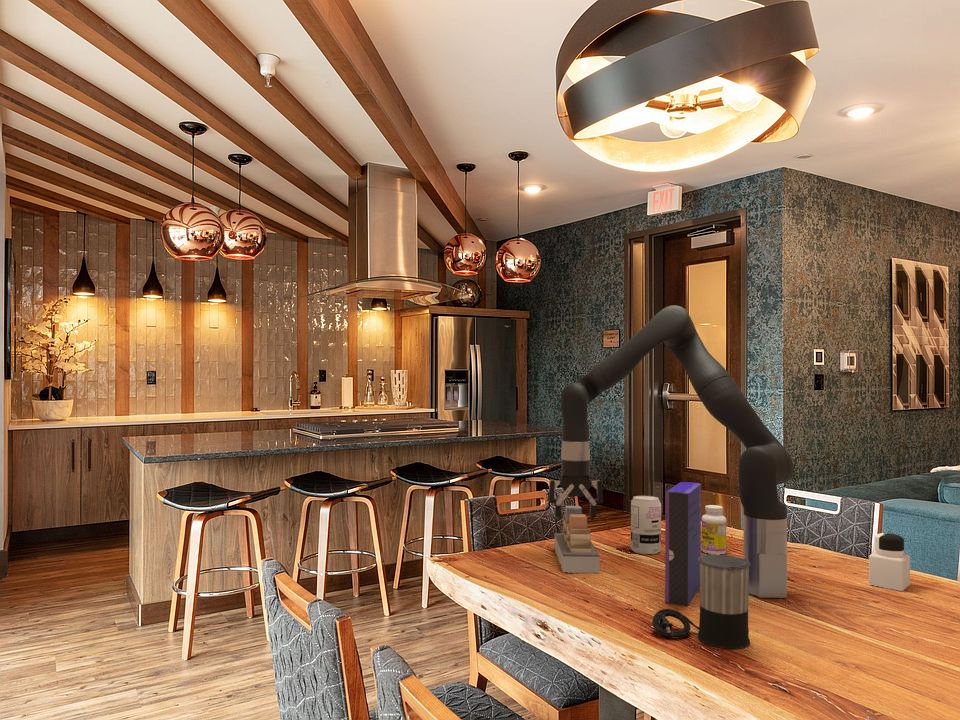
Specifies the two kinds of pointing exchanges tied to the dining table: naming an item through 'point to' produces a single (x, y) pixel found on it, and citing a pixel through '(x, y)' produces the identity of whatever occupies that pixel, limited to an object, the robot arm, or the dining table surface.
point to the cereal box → (682, 542)
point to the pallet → (577, 538)
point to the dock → (575, 557)
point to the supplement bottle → (713, 530)
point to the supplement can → (645, 525)
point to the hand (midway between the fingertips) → (575, 519)
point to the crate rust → (577, 521)
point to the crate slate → (572, 510)
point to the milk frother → (716, 604)
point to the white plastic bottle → (889, 563)
